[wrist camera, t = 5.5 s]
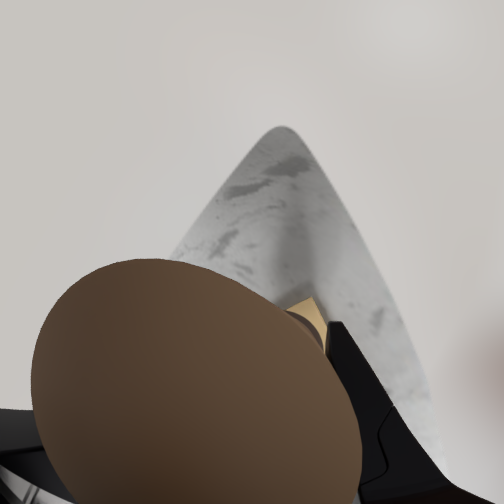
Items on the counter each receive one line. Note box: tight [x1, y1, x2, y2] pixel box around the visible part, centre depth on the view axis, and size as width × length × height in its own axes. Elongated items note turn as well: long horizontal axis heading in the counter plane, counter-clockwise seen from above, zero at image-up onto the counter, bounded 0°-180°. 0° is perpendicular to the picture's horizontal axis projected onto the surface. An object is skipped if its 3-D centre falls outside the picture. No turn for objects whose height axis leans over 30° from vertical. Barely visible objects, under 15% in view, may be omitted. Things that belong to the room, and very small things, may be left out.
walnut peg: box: [31, 259, 362, 504], centre depth 8 cm, size 5×5×13 cm
